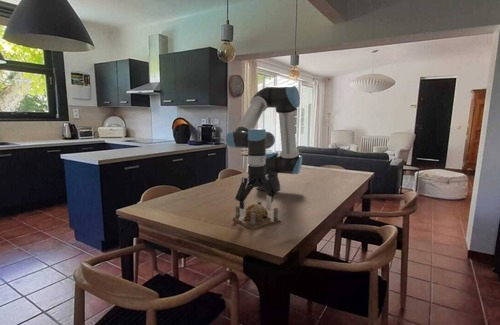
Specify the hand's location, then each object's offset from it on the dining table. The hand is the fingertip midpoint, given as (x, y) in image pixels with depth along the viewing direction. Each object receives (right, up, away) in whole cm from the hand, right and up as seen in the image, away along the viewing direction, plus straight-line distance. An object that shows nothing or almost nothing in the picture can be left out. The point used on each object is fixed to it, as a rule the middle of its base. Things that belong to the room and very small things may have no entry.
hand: (256, 212), depth 123 cm
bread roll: (0, -3, +1) cm, 3 cm away
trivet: (0, -4, +1) cm, 4 cm away
